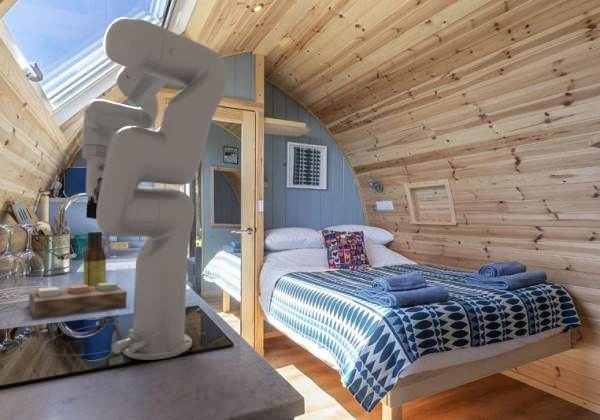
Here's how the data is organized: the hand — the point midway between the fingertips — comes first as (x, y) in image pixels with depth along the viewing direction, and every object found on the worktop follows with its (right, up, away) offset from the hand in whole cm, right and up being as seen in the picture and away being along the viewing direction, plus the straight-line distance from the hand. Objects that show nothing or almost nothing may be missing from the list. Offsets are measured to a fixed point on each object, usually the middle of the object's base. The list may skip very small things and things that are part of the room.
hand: (96, 218), depth 96 cm
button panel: (-7, -25, +4) cm, 26 cm away
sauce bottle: (-13, -25, +21) cm, 35 cm away
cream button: (-13, -22, 0) cm, 25 cm away
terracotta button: (-7, -22, +4) cm, 24 cm away
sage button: (-2, -22, +9) cm, 24 cm away
